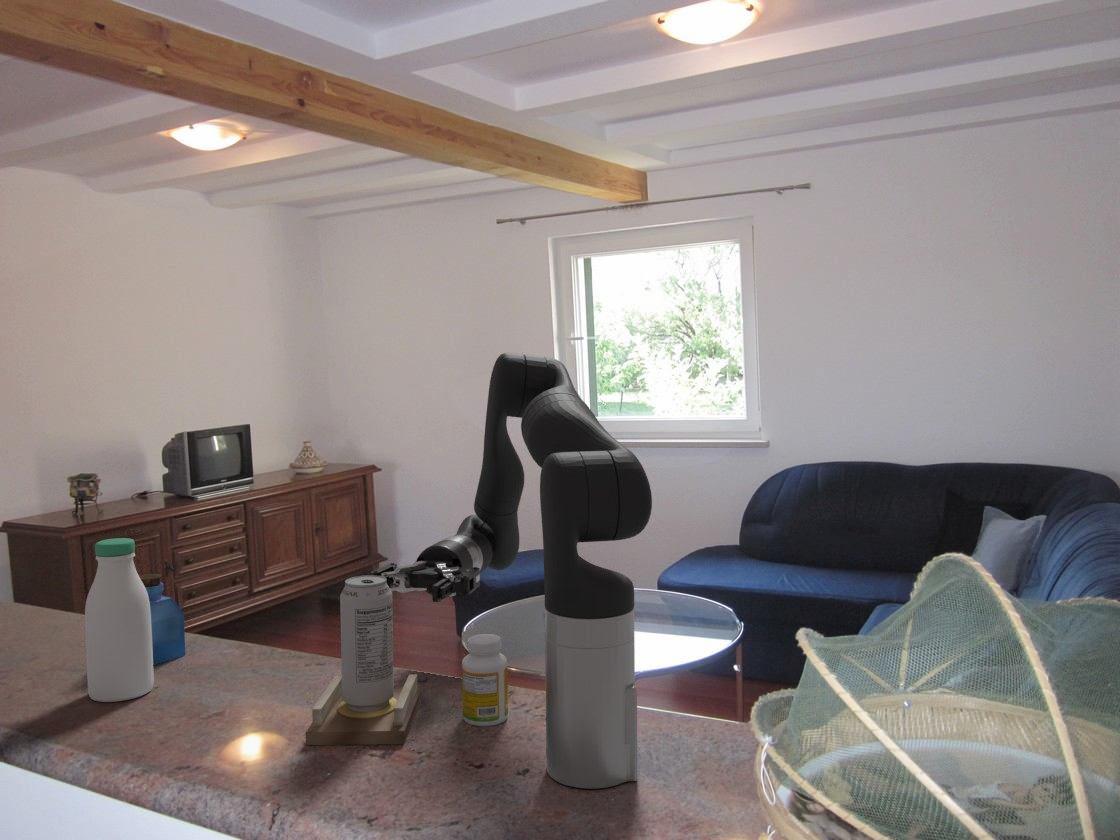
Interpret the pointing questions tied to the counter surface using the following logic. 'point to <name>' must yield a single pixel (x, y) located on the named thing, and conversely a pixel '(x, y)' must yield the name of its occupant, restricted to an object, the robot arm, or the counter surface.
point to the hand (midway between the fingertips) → (404, 592)
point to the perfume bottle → (164, 622)
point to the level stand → (364, 717)
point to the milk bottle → (118, 626)
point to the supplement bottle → (484, 681)
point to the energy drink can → (366, 643)
